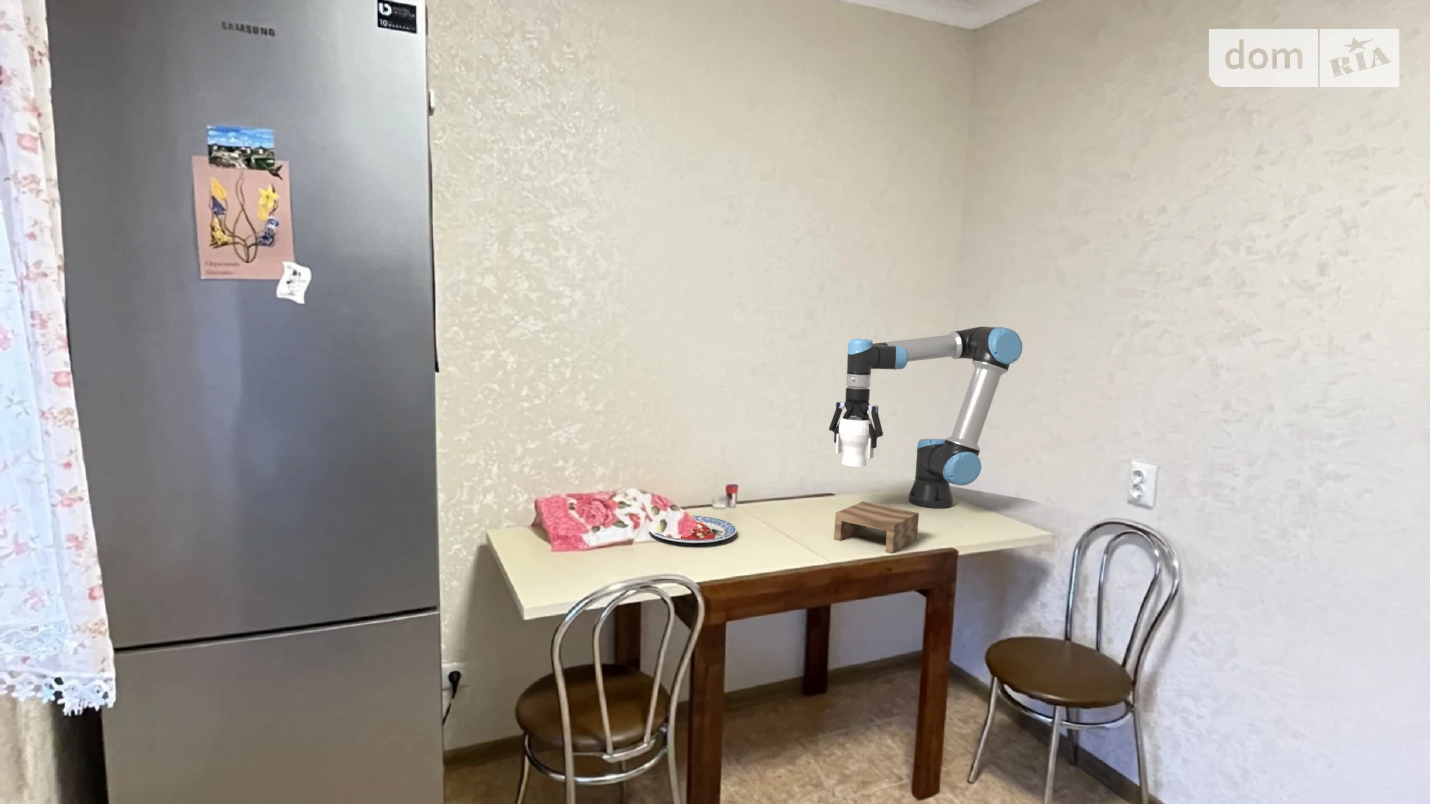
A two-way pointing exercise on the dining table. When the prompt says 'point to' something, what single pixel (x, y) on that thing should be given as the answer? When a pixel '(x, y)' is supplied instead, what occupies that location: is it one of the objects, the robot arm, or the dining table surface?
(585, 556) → the dining table surface
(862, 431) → the cup
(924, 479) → the robot arm
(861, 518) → the walnut shelf
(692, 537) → the ceramic plate
